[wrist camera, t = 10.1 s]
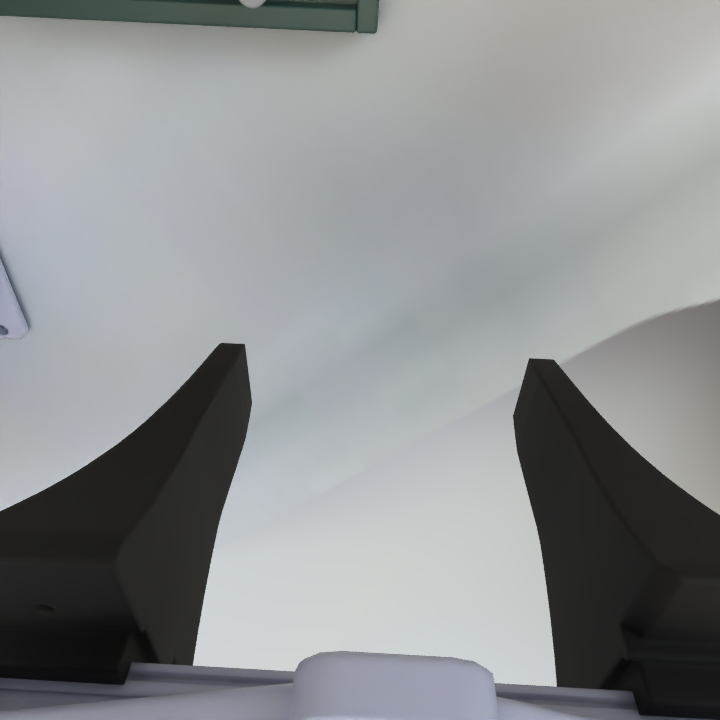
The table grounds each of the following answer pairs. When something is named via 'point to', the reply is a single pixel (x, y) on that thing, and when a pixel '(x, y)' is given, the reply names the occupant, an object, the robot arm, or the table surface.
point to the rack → (211, 12)
